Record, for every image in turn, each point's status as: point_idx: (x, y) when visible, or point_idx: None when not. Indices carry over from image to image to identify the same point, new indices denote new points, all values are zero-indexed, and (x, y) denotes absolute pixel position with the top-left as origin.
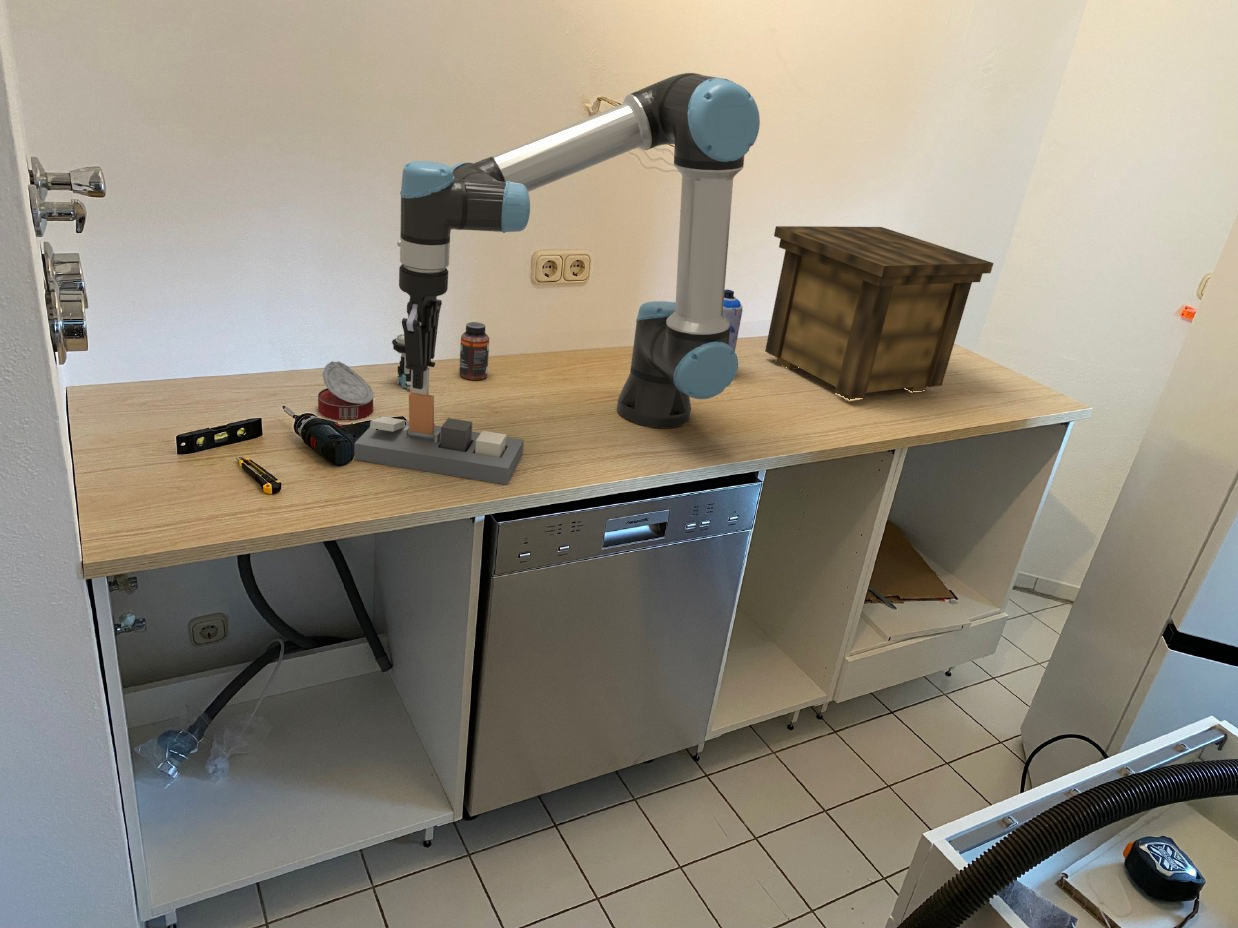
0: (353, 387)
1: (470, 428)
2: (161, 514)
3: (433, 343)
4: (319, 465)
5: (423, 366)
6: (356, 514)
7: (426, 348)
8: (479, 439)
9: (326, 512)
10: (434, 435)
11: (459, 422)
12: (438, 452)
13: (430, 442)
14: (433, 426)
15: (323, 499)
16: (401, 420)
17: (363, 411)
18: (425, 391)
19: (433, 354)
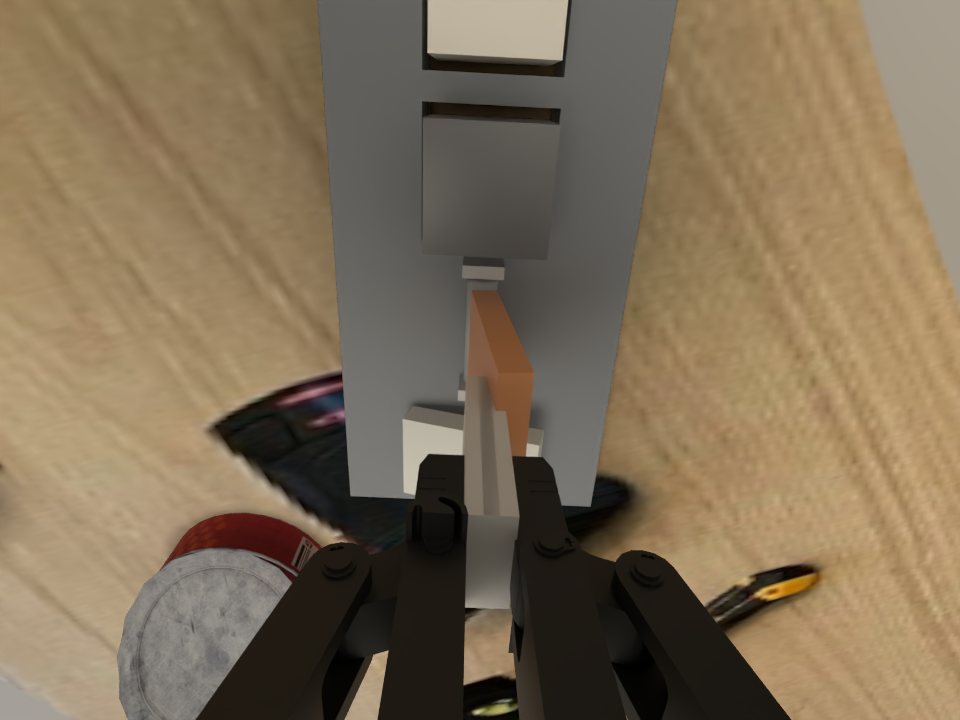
0: (210, 623)
1: (457, 118)
2: (914, 697)
3: (311, 675)
4: (637, 532)
5: (581, 568)
6: (937, 371)
7: (572, 709)
8: (547, 41)
9: (921, 443)
10: (481, 281)
11: (459, 185)
12: (596, 229)
13: (508, 283)
14: (483, 300)
15: (842, 470)
16: (422, 429)
17: (279, 540)
18: (505, 427)
19: (341, 574)
